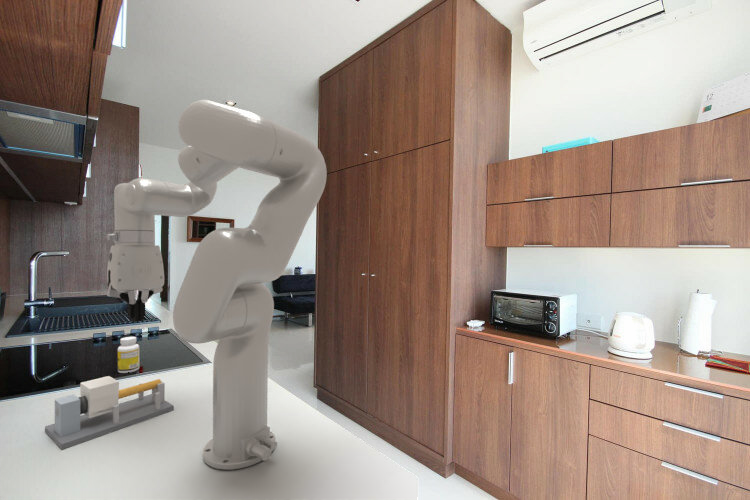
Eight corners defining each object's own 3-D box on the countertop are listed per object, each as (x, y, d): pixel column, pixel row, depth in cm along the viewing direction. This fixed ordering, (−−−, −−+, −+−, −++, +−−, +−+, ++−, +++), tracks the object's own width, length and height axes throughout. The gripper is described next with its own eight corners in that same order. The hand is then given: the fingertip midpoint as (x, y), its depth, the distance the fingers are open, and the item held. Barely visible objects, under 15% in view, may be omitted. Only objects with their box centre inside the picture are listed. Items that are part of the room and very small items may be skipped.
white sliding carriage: (108, 402, 79) (108, 375, 79) (118, 409, 75) (118, 381, 75) (80, 410, 75) (80, 382, 75) (89, 418, 71) (89, 389, 71)
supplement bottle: (121, 368, 109) (121, 336, 109) (141, 366, 111) (142, 335, 111) (114, 374, 104) (114, 341, 104) (135, 372, 106) (136, 339, 106)
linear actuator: (152, 397, 88) (152, 368, 88) (173, 409, 82) (174, 378, 82) (44, 431, 72) (45, 396, 72) (61, 449, 66) (61, 411, 66)
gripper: (101, 238, 72) (102, 329, 72) (177, 239, 84) (178, 317, 84) (88, 239, 76) (89, 325, 76) (162, 240, 88) (163, 314, 88)
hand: (136, 320), depth 80 cm, fingers closed
